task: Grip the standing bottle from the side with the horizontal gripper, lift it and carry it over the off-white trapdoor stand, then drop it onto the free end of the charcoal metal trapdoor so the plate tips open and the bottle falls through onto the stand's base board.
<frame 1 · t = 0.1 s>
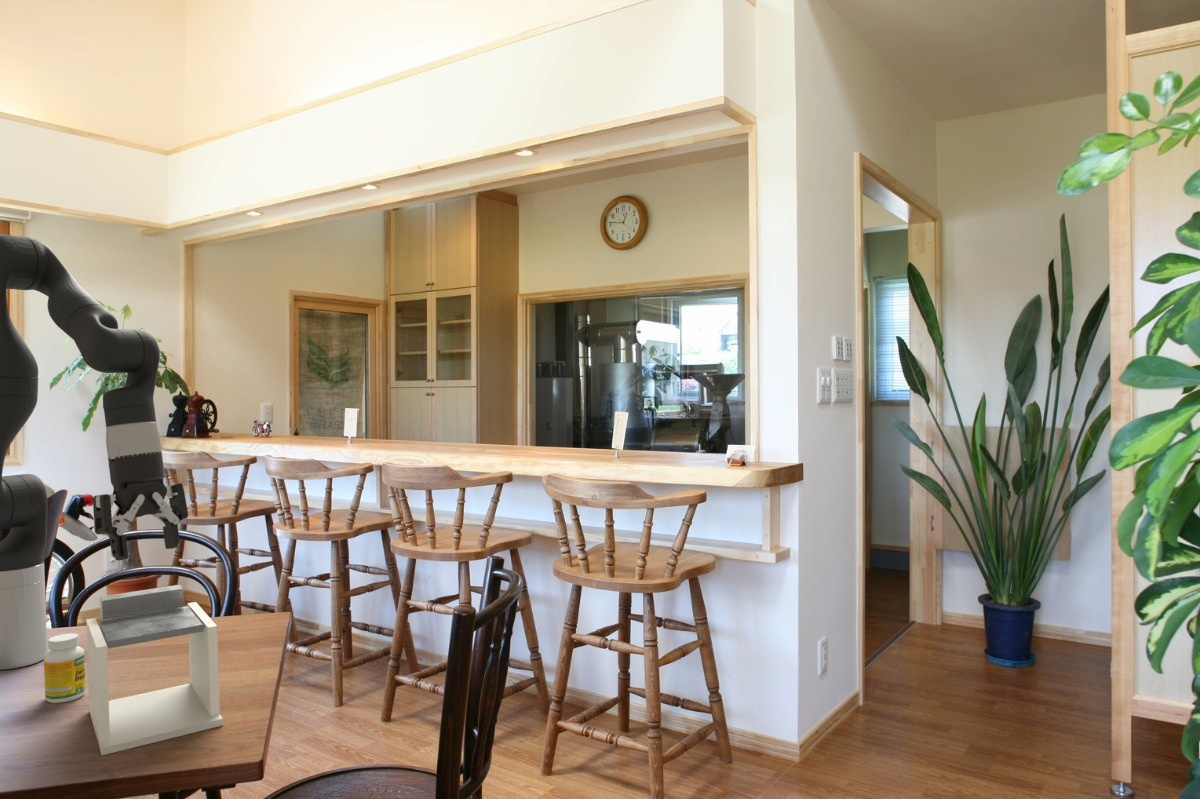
hand: (147, 553, 130), 22 cm above the table, tool pointing down, fingers open, 8 cm apart
trapdoor stand: (153, 716, 121), on the table
supplement bottle: (65, 698, 129), on the table
trapdoor: (148, 614, 122), point 15 cm above the table, hinge at 0.0°
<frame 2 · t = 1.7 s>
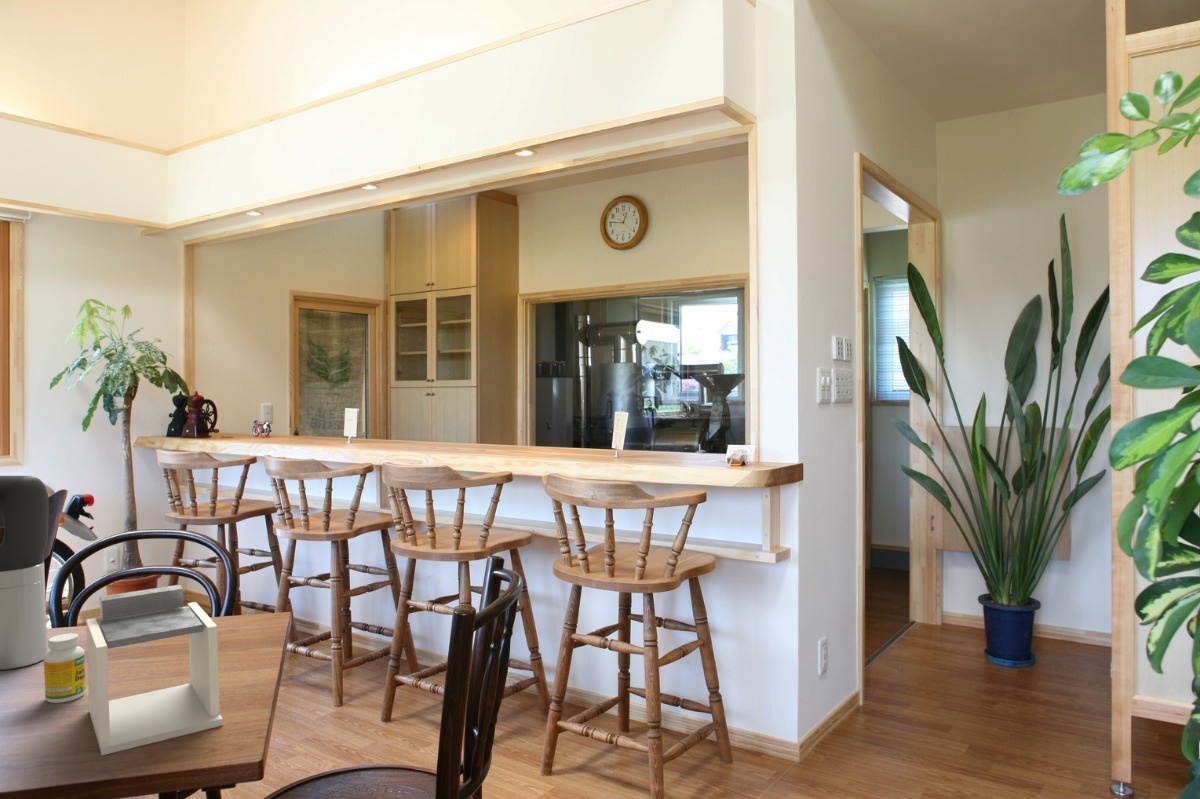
nothing on the table moved.
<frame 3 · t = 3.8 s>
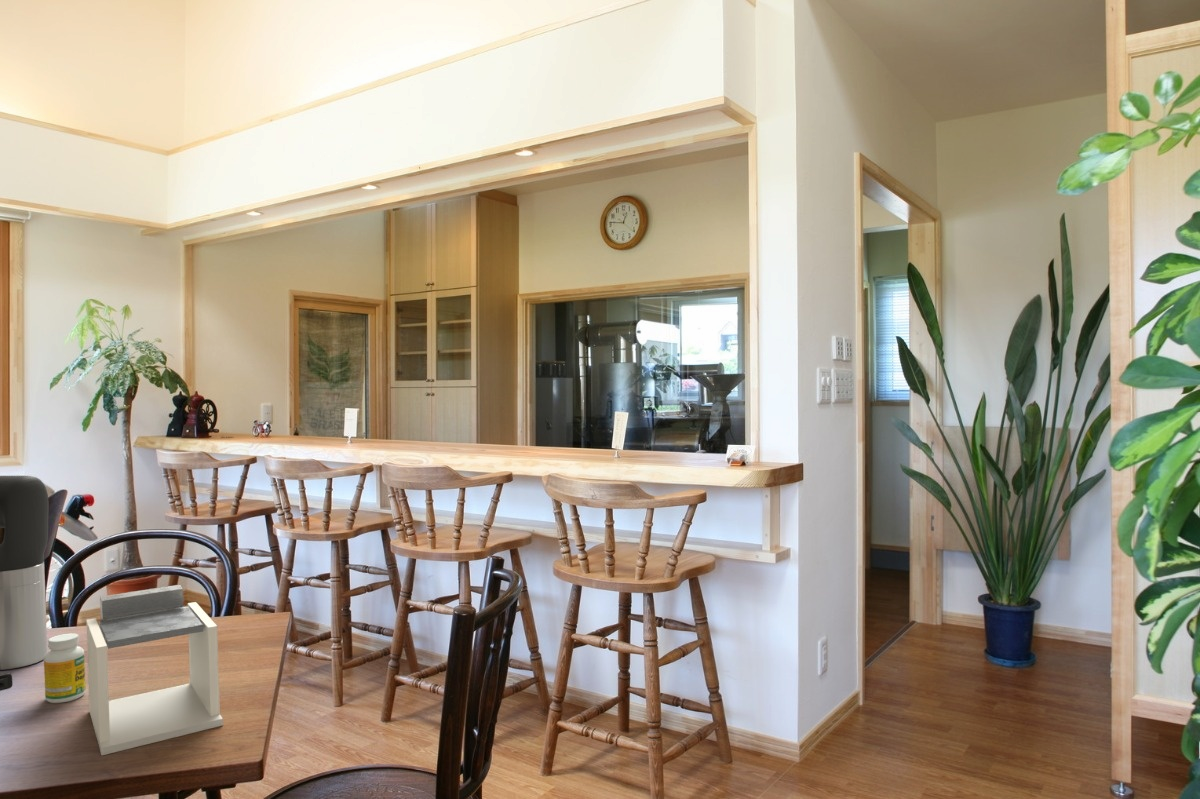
hand: (5, 672, 123), 6 cm above the table, tool horizontal, fingers open, 8 cm apart
nothing on the table moved.
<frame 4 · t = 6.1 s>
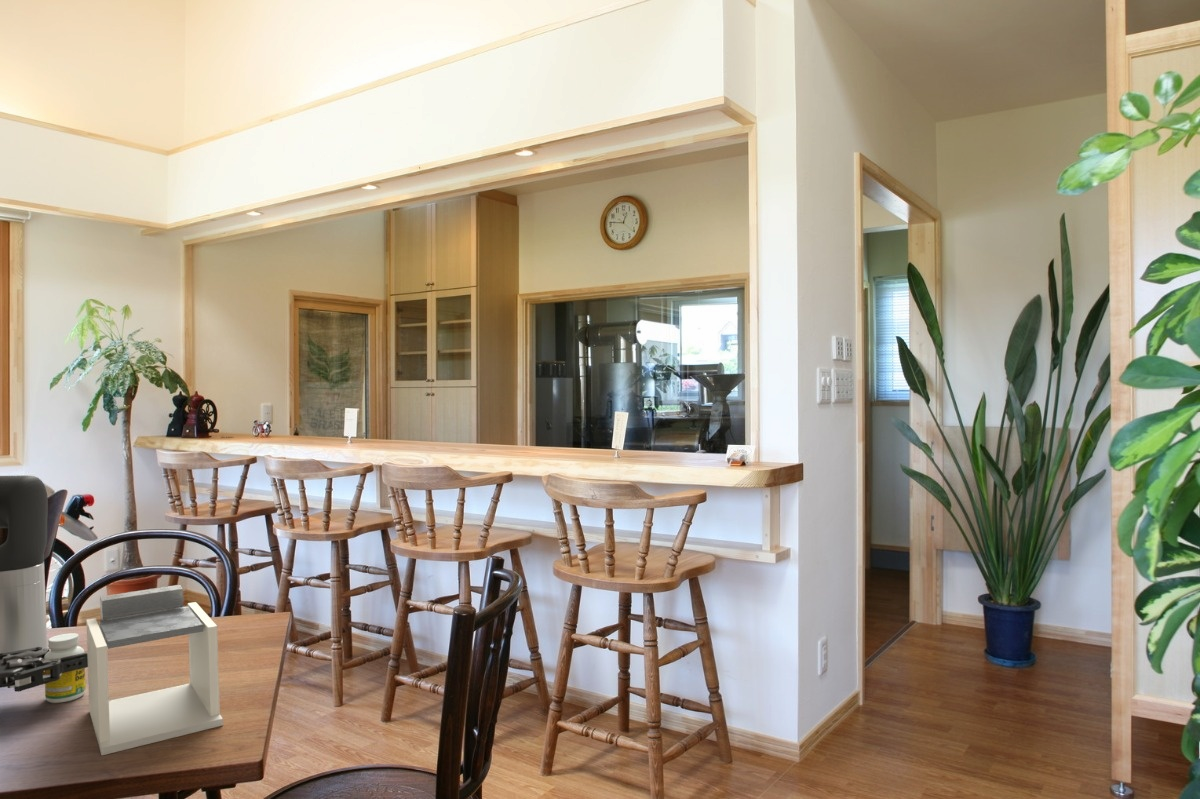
hand: (82, 655, 130), 6 cm above the table, tool horizontal, fingers closed on supplement bottle, 5 cm apart
supplement bottle: (65, 698, 129), on the table, touching gripper
everything else where it was.
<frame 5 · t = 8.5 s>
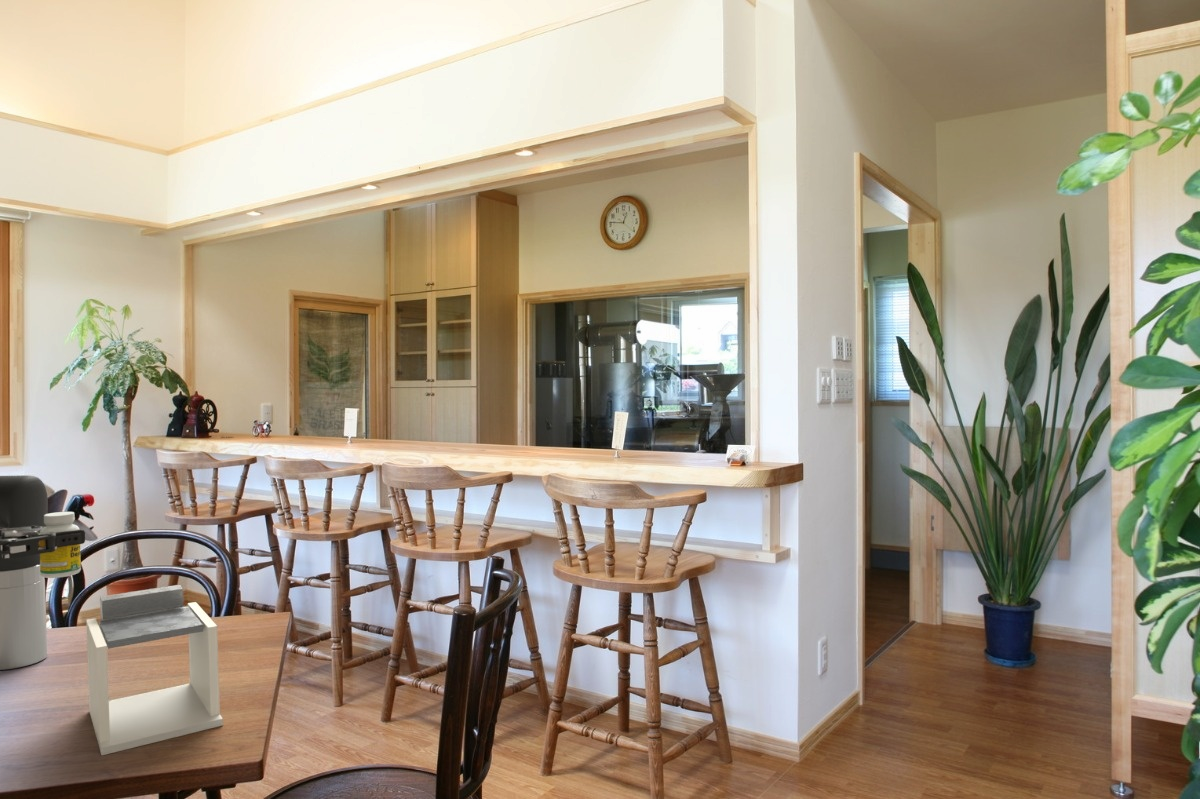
hand: (78, 533, 130), 26 cm above the table, tool horizontal, fingers closed on supplement bottle, 5 cm apart
supplement bottle: (60, 575, 128), point 19 cm above the table, touching gripper
everything else where it was.
when the fingers open (23 cm above the table, at t = 11.1 s): supplement bottle drops 4 cm, resting on trapdoor.
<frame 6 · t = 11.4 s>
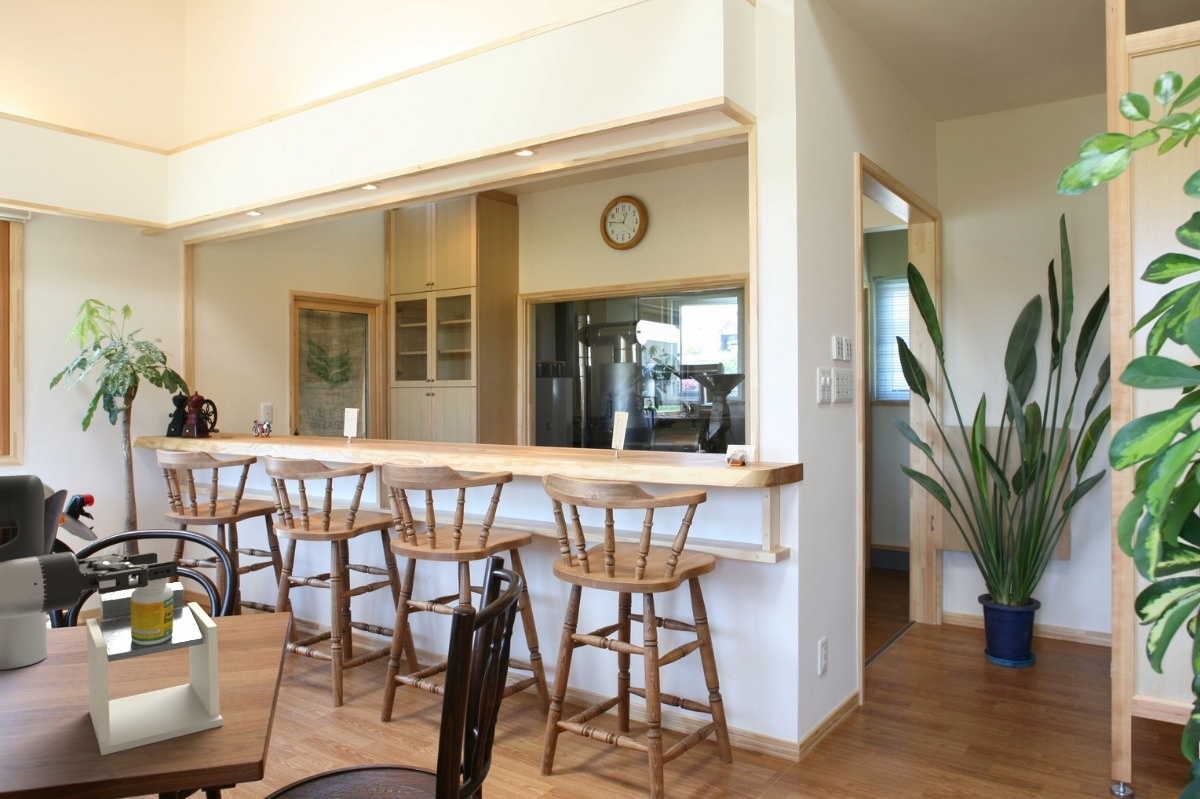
hand: (166, 563, 120), 23 cm above the table, tool horizontal, fingers open, 8 cm apart
supplement bottle: (152, 639, 118), point 12 cm above the table, touching trapdoor
trapdoor: (148, 618, 122), point 14 cm above the table, hinge at -9.3°, touching supplement bottle
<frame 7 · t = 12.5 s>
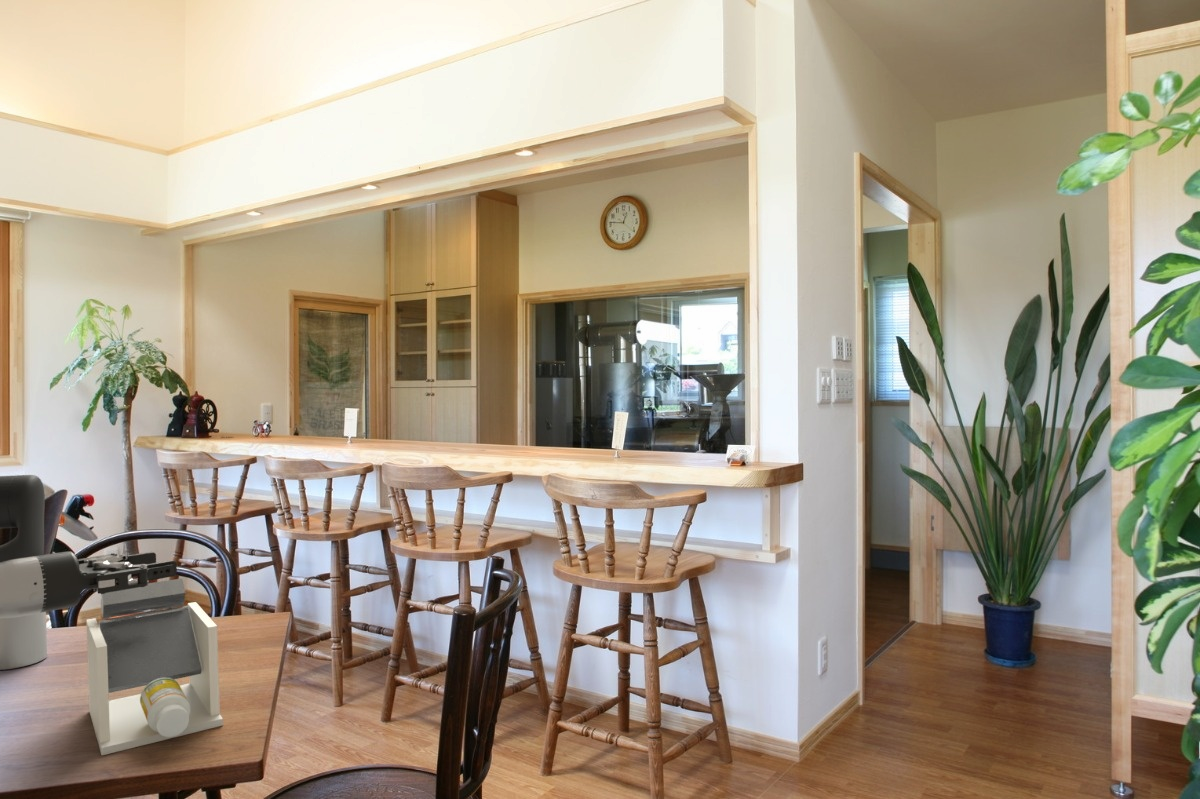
hand: (165, 563, 120), 23 cm above the table, tool horizontal, fingers open, 8 cm apart
supplement bottle: (159, 694, 118), point 4 cm above the table, touching trapdoor, trapdoor stand
trapdoor: (149, 632, 122), point 12 cm above the table, hinge at -36.6°, touching supplement bottle
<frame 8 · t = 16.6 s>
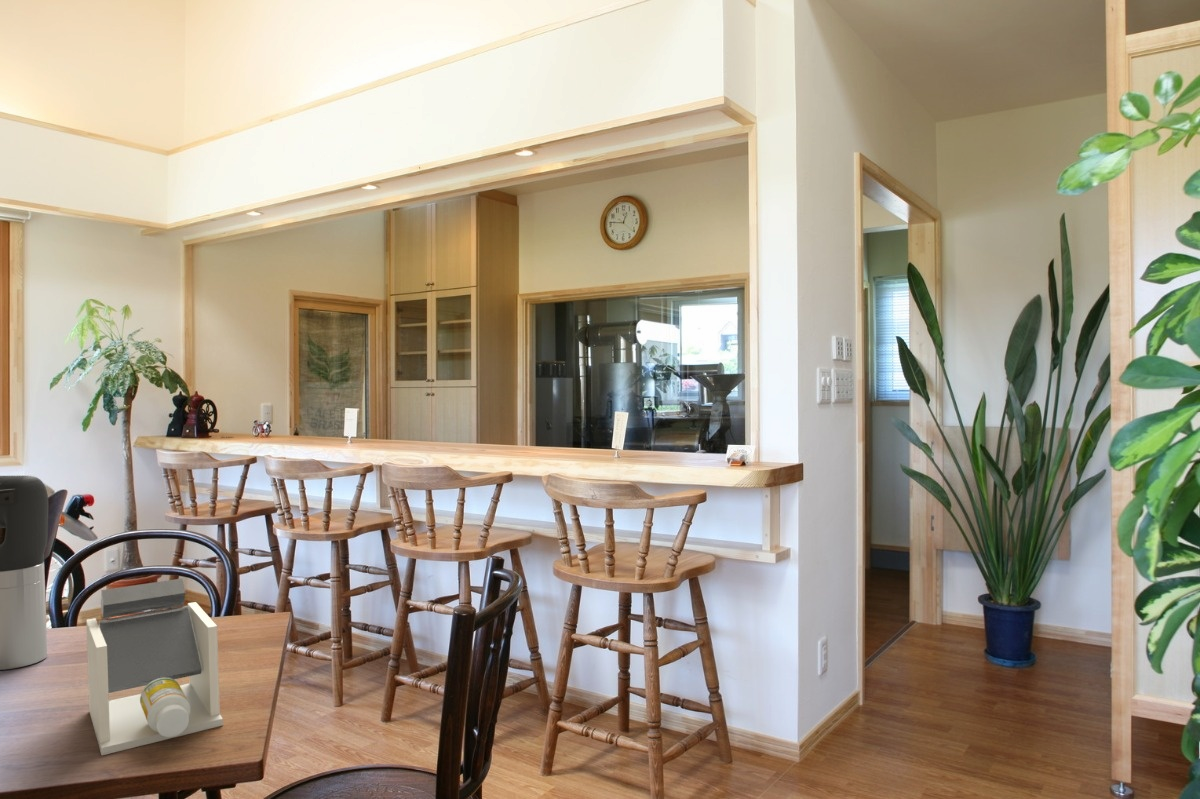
hand: (10, 493, 116), 34 cm above the table, tool horizontal, fingers open, 8 cm apart
nothing on the table moved.
at the end: supplement bottle inside the target area on the trapdoor stand (1.6 cm from its centre), point 4.3 cm above the trapdoor stand's base; the gripper is holding nothing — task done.
